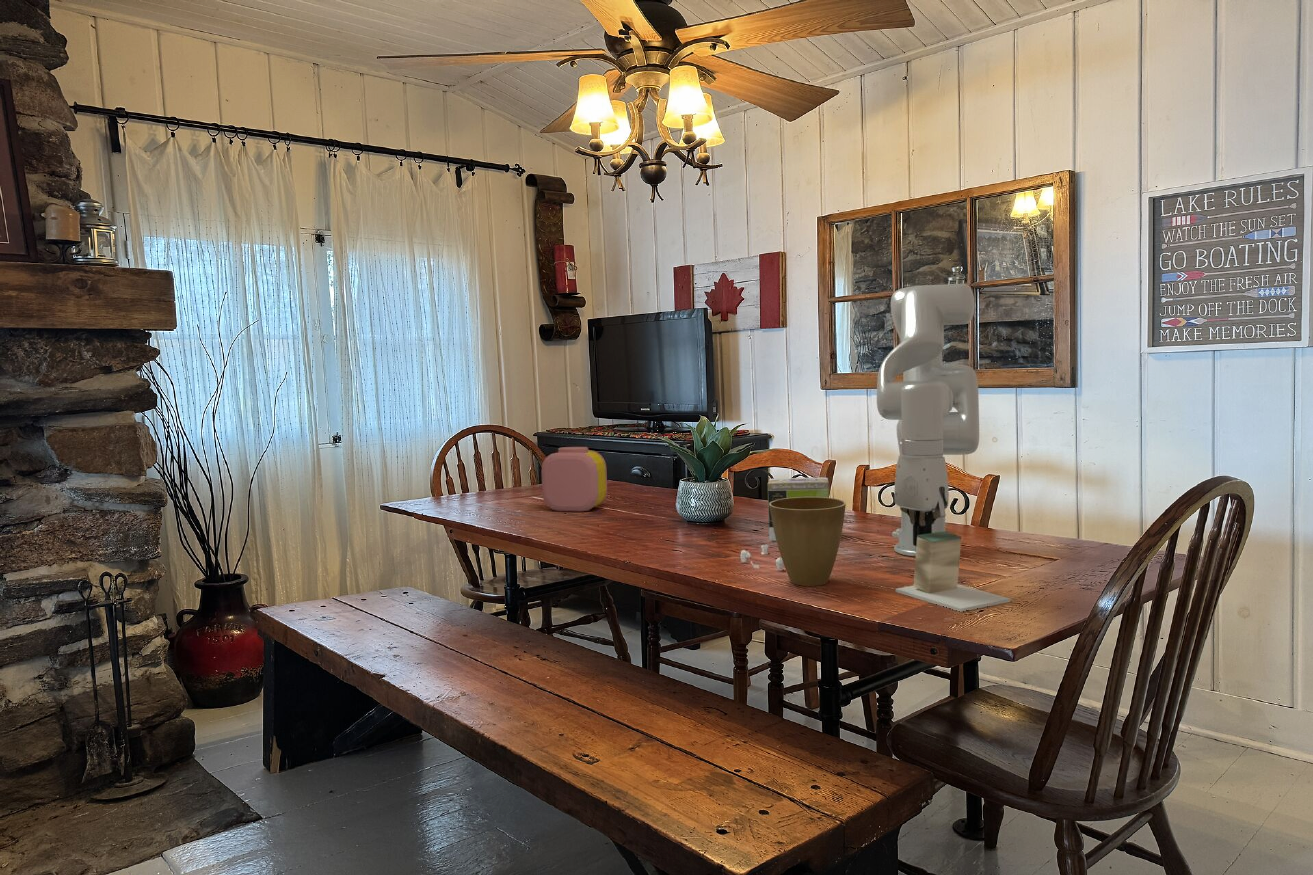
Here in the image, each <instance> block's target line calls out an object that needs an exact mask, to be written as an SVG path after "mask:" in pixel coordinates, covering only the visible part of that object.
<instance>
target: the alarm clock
mask: <svg viewBox="0 0 1313 875" xmlns="http://www.w3.org/2000/svg"><path fill="white" fill-rule="evenodd" d="M540 472H541V493H542V498H543V501H544V503H545V504H546V505H547V507H549V508H550V509H551V510H553V511H557V512H574V513H575V512H576V513H577V512H581V513H583V512H589V511H590V510H592V508H596V507H598V506H600V505H602V504H603V503H604V501H605V499H606V497H607V494H608V478H607V477H608V476H607V474H608V473H607V463H606V460H605V459H604V457H603V455H601V454H600V453H599V452H598V451H595V450H590V449H589V448H588V447H587V446H564V447H563V446H562V447H559V448H558V449H557V452H555V453H551V454H549V455H548V456H546V457H545V459H544V460H543V461H542V464H541V471H540Z"/></svg>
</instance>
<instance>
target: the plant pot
mask: <svg viewBox="0 0 1313 875" xmlns="http://www.w3.org/2000/svg"><path fill="white" fill-rule="evenodd" d="M846 506H847V503H846V501H845V500H842V499H839V498H835V497H834V498H833V497H829V498H827V497H794V498H784V499H779V500H775V501H772V502H770V503H769V507H770V513H771V518H772V524H773V529H774V533H775V537H776V541H775V542H776V544H777V548H778V550H779V555H780V558H782V561H783V563H784V566H783V567H784V568H785V572H786V574H787V576H788V579H789V581H790V583H792V584H794V585H796V586H801V587H816V586H817V587H818V586H823V585H826V584H827V583H828V582H829V581H830V577H831V575H832V572H833V569H834V566H835V563H836V559H837V556H838V551H839V549H840V548H839V547H840V543H841V540H842V535H843V534H842V533H843V527H844V523H845V522H844V521H845V514H846Z"/></svg>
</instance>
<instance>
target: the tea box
mask: <svg viewBox="0 0 1313 875" xmlns="http://www.w3.org/2000/svg"><path fill="white" fill-rule="evenodd" d="M794 497H827V498H830V482H829V477H827V476H826V477H825V476H823V477H787V478H786V477H785V478H769V479H768V482H767V506H768V508H767V509H768V538H769V542H772V541H773V542H774V541H775V542H777V541H776V537H775V533H774V529H773V524H772V518H771V513H770V507H769V503H770V502H772V501H775V500H779V499H784V498H794Z"/></svg>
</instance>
